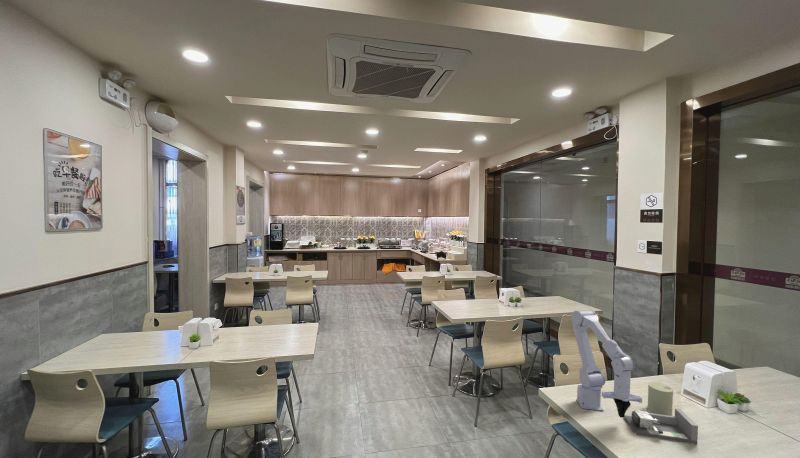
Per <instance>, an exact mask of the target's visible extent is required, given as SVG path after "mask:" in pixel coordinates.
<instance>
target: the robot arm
mask: <svg viewBox="0 0 800 458" xmlns="http://www.w3.org/2000/svg"><path fill="white" fill-rule="evenodd" d="M570 320H571V322H572V329H573V333H574V338H575V340H576V341H575V342H576V344H577V348H578V352H579V357H580V360H581V363H582V364H581V365H582V366H581V367H580V369H579V371H578V372H579V382H580V383H581V384H577V387H576V388H577V391H576V392H577V393H576V394H577V395H576V401H577V403H578V405H579V406H580V408H581V409H584V410H585V409H586V410H594V411H601V412H603V411H605V409H604V408H603V406H602V405H601V400H602V398H603V399H613V402H614V404H615V407H616V410H617V415H618V417H619V418H622V419H623V418H624V415H626V412H627V410H628V409H629V408H630V407H631V402H636V403H639V404H643V398H642V397H641V396H639V395H635V394H631V377H632V376H631V375H632V374H631V373H632V370H634V369H635V361H634V360H633V358H632V357H631V356H630V355H627V354H626V353H625V352H624V351H623V350H622V348H620V346H619V343H617V342H616V341H615V340H614V339H610V337H609V335H608V334H607V332H606V331H605V329H604V328H603V326H602V325H601V323H600V321H599V316H598V315H597V313H596V311H595V310H594V309H585V310H584V309H583V310H574V311H572V313H571V314H570ZM588 329H591V331H593V333H594V334H595V335H596V337H597V338H598V339H599V340H600V342H601V343H602V344H601V348H603V350H604V352H605V353H606V354H607V356H608V357H609V359H610V360H611V362H610V364H611V367H612V369H613V373H614V375H613V377H614V379H613V391H602V389H603V386H604V385H605V384H606V377H605V375H604V374H603V371H602V368H600V367H599V366H597V364H596V362H595V358H594V354H593V351H592V346H591V342H590V340H589V336H588V332H587V330H588ZM601 397H602V398H601ZM624 419H625V418H624Z"/></svg>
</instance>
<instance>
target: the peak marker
mask: <svg viewBox="0 0 800 458" xmlns="http://www.w3.org/2000/svg"><path fill="white" fill-rule="evenodd" d="M656 429H657V430H658V432H659V434H663V431H662V430H661V429H660V427H657V426H656Z"/></svg>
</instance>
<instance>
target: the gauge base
mask: <svg viewBox="0 0 800 458" xmlns="http://www.w3.org/2000/svg"><path fill="white" fill-rule="evenodd" d="M648 413H649V414H650V416H651V417H652V418H653V419H659V421H660V424H657V423H654V426H655V427H656V426H657V427H660V429H661V430H662V431H663V434H659V432H658V433H655V432H654V431H653V429H647V428H640V427H639V426H637V425H636V424H635V422H634V421H633V420H632V415H626V414H625V415H624V420H625V421H626V423H627V425H628V426H629V427H630V428H631V429H632V431H633V432H634V434H635V435H636V436H642V437H647V438H648V437H650V438H655V439H663V440H669V441H676V442H682V443H689V444H693V445H697V444H698V438H699V437H698V435H699V434H698V433H699V425H698V424H696V423H695V422H694V421H693V420H692V419H691V417H690V416H688V415H687V414H686V413H685V412H684V410H683V409H681V408H674V415H673V416H668V415H660V414H653V413H651V412H648Z"/></svg>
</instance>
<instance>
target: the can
mask: <svg viewBox="0 0 800 458" xmlns="http://www.w3.org/2000/svg"><path fill="white" fill-rule="evenodd" d="M647 385H648V389H647V390H648V391H647V406H646V409H647V410H648V412H649V413H653V414H660V415H668V416H674V415H673V402H674V401H673V399H674V389H673V388H672V387H671V386H670V385H667V384H664V383H662V382H656V381H650V382H649V383H647Z"/></svg>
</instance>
